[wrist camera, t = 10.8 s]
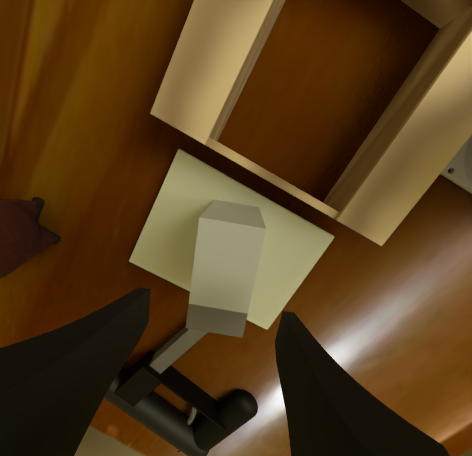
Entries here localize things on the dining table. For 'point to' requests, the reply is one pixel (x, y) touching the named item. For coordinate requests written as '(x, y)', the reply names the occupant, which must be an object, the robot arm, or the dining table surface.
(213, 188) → the sage board
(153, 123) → the dining table surface
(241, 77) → the carton
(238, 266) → the block
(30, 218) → the mate gourd
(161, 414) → the door handle
